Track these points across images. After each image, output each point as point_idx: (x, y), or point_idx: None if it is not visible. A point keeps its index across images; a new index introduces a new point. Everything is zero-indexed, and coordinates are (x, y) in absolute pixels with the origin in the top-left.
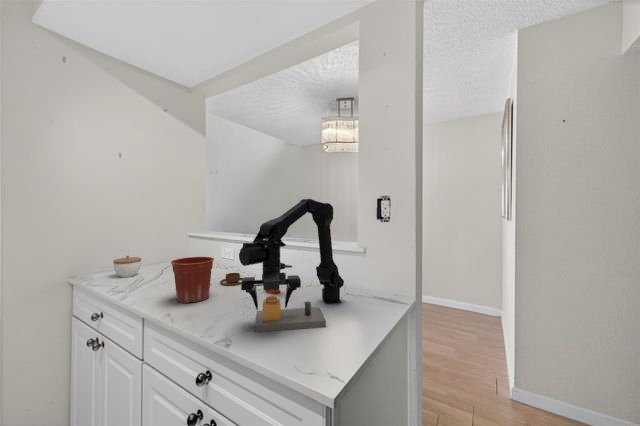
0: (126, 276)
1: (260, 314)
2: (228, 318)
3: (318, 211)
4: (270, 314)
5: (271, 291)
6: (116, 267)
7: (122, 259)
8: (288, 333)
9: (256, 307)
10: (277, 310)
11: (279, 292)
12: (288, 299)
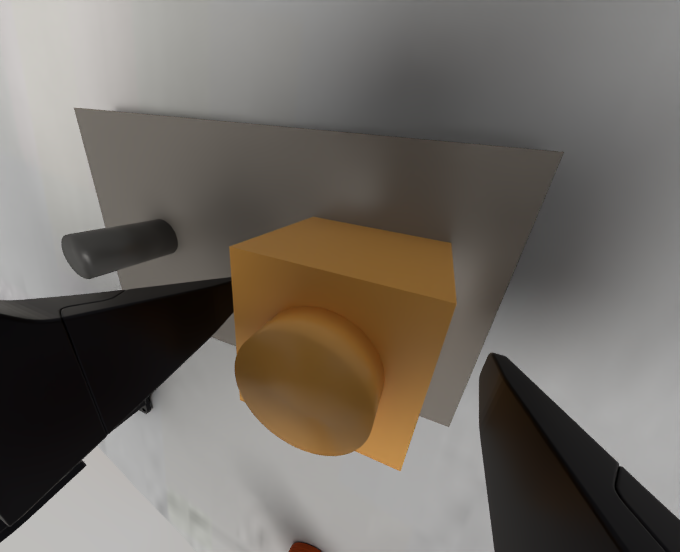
0: None
1: (438, 361)
2: (668, 472)
3: None
4: (375, 242)
5: None
6: None
7: None
8: (296, 62)
9: (514, 368)
10: (300, 235)
11: (293, 545)
12: (140, 288)
